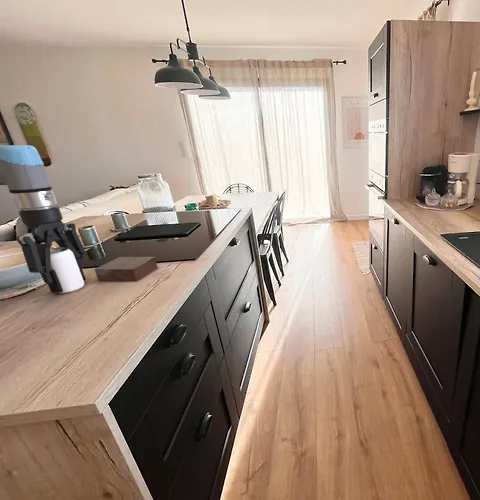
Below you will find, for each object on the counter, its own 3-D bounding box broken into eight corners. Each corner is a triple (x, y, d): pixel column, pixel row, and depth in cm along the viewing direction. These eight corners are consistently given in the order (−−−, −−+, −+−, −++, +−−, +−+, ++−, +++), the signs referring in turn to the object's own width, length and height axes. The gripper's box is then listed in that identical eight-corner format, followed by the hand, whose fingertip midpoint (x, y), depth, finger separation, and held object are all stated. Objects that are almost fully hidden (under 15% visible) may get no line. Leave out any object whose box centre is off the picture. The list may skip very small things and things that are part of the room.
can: (59, 296, 79) (43, 256, 75) (51, 290, 83) (35, 251, 78) (88, 286, 84) (74, 248, 80) (80, 281, 88) (66, 244, 83)
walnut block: (98, 280, 88) (94, 269, 87) (123, 267, 97) (119, 256, 96) (136, 281, 88) (133, 269, 86) (157, 267, 97) (154, 256, 96)
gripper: (10, 216, 66) (48, 303, 74) (85, 200, 84) (109, 271, 92) (-22, 216, 66) (20, 303, 74) (60, 200, 84) (86, 271, 92)
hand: (69, 285), depth 83 cm, fingers closed on can, 6 cm apart
